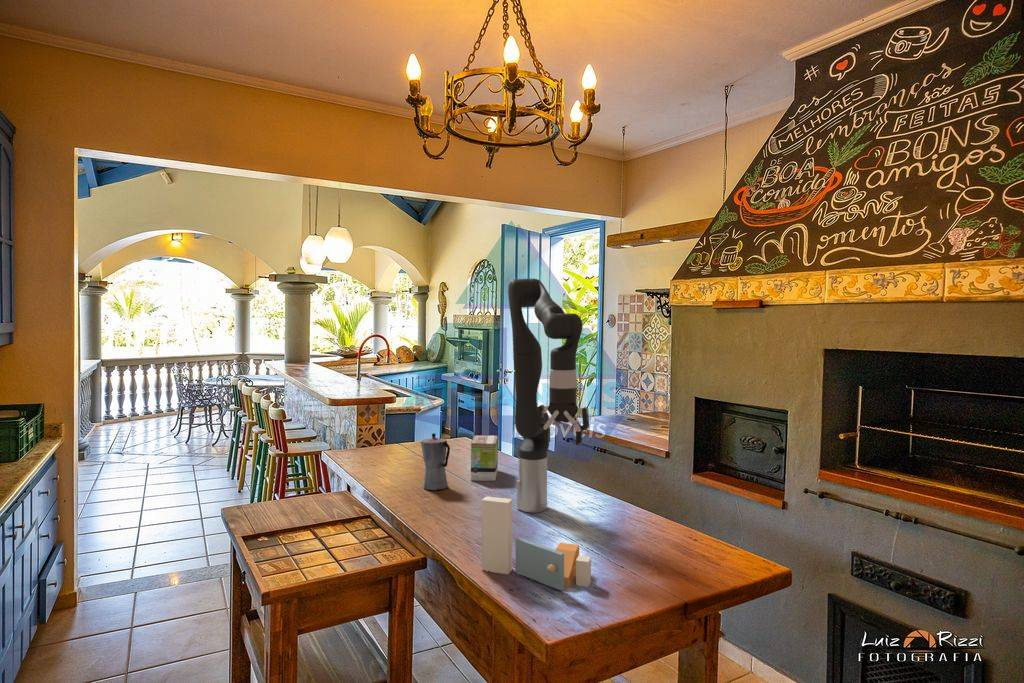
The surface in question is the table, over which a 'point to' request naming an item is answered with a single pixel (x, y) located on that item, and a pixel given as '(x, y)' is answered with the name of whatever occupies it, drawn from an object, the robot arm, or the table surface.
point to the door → (540, 563)
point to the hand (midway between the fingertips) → (562, 443)
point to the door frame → (500, 540)
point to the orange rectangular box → (569, 561)
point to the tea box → (484, 458)
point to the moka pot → (435, 462)
